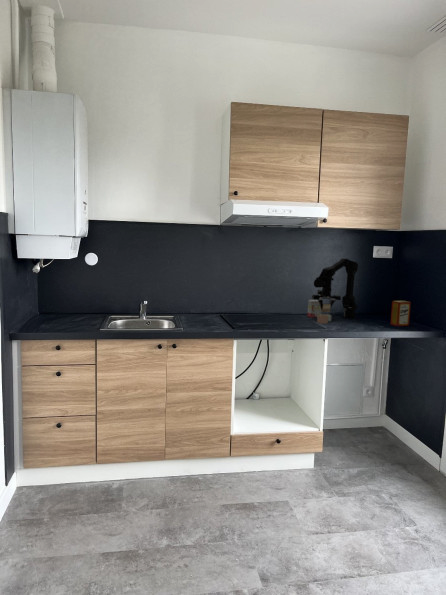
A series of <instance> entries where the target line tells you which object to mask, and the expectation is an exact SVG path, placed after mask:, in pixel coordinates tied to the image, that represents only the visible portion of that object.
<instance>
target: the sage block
mask: <svg viewBox="0 0 446 595" xmlns="http://www.w3.org/2000/svg"><path fill="white" fill-rule="evenodd" d="M319 315H327V316H328V322H331V321H332V315H331V314H330V313H321V314H319Z"/></svg>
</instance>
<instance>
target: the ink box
mask: <svg viewBox="0 0 446 595" xmlns="http://www.w3.org/2000/svg"><path fill="white" fill-rule="evenodd" d="M319 314H322V311H321V307H320V303H319V301H318V300H315V299H308V304H307V317H308V318H317V315H319Z"/></svg>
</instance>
